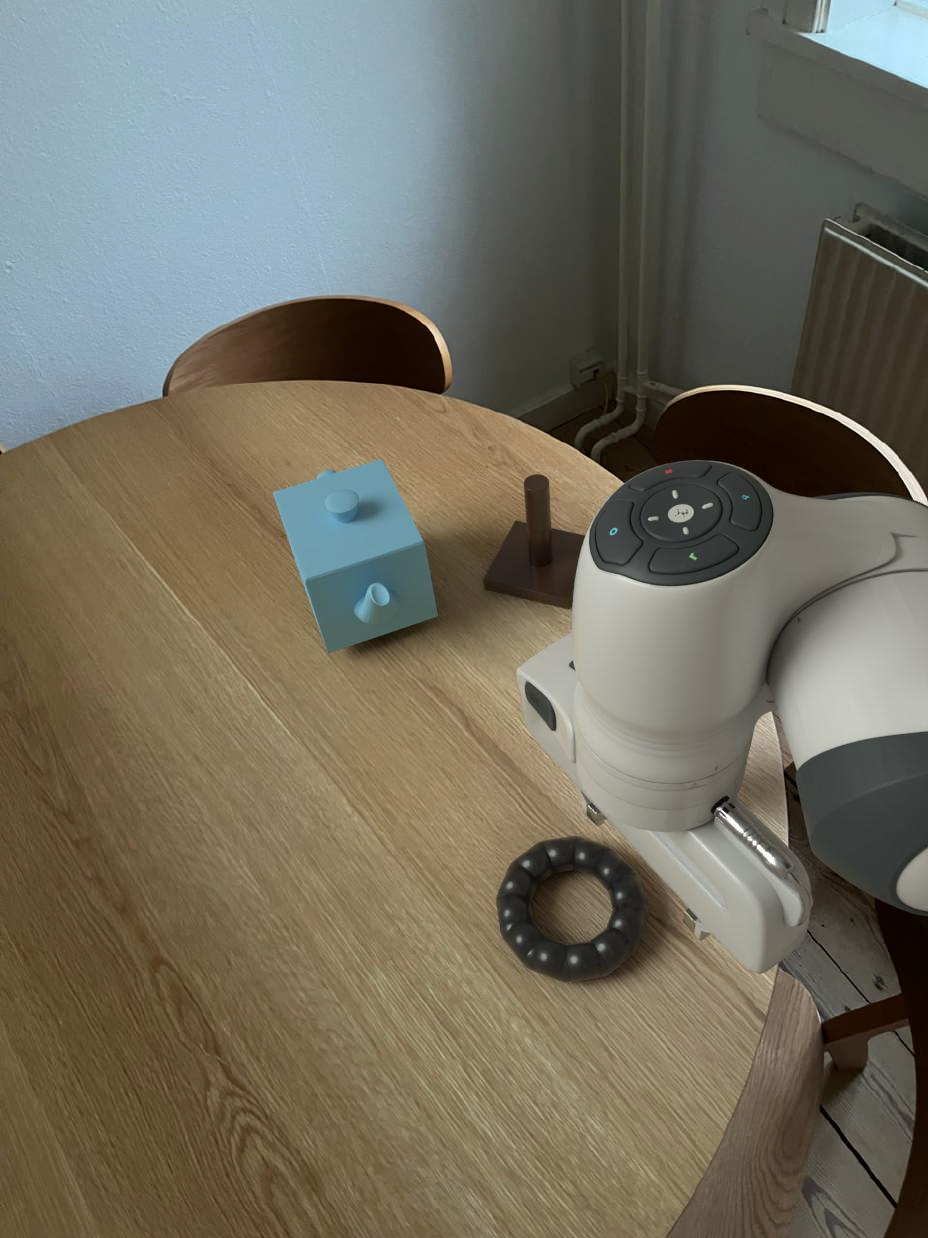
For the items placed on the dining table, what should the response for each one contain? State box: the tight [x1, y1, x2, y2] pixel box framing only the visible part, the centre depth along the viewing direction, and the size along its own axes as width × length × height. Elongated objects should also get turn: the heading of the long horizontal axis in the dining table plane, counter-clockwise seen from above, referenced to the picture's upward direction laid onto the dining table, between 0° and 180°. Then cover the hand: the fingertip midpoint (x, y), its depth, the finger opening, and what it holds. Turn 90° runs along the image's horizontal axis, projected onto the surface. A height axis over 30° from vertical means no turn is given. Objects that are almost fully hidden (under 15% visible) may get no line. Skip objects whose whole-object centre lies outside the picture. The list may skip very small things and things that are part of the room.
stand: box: [482, 473, 586, 610], centre depth 94 cm, size 9×9×12 cm
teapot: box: [272, 458, 439, 654], centre depth 92 cm, size 22×11×14 cm, turn 20°
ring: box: [495, 835, 650, 984], centre depth 73 cm, size 11×11×3 cm
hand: (648, 866), depth 60 cm, fingers open, 8 cm apart
